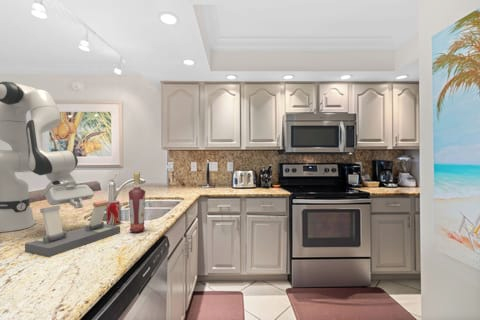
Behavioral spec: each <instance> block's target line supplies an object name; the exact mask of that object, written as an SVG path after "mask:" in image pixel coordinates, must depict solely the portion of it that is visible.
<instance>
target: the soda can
mask: <svg viewBox="0 0 480 320" xmlns="http://www.w3.org/2000/svg"><path fill="white" fill-rule="evenodd" d="M108 202H109V203H108V205H106V209H105V219H106V220H105V221H106V225H114V226H118V225H119V224H120V223H121V221H122V206H121V205H122V204H121V202H120V200H109V201H108Z"/></svg>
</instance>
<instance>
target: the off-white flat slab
mask: <svg viewBox="0 0 480 320" xmlns="http://www.w3.org/2000/svg"><path fill="white" fill-rule="evenodd" d="M108 203H109V202H108V201H107V200H106V199H105V200H100V201H93V203H92V207H93V210H92V212H91V216H90V220H89V224H88V225H90V230H91V229H95V228H98V227H101V226H102V222H103V220H104V216H105V214H106V205H108Z"/></svg>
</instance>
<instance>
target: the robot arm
mask: <svg viewBox="0 0 480 320" xmlns="http://www.w3.org/2000/svg"><path fill="white" fill-rule="evenodd" d="M28 112H30V113H29V114H30V116H31V117H30V118H31V119H30V120H28V121H27V114H28ZM61 121H62V116H61V112H60V111H59V108H58V106H57V104H56V101H55V100H54V98H53V96H52V94H51V93H50V92H49V91H47V90H44V89H39V88H37V87H36V88H35V87H33V86H30V85H26V84H25V85H24V84H20V83H15V82H12V81H0V141H2V142H4V143H6V144H8V145H9V146H10V148H11V149H7V150H5V149H0V233H5V232H7V233H8V232H15V231H20V230H25V229H28V228H32V227H33V226H34V225H36V224H37V221H34V213H33V209H32V208H31V207H30V206H31V205H30V203H31V201H30V198H29V184H28V183H27V181H25V180H23V179H21V178H18V177H17V176H16V173H22V172H23V173H24V172H25V173H26V172H29V173H30V172H32V173H33V174H36V175H38V176H44V175H45V176H46V178H47V180H49V181H50V182H49V183H48V184H47V185H46V187H45V188H44V189H43V194H44V195H45V198H46V201H47V203H48V204H49V205H50V206H59V205H62V204H63V205H64V204H69V205H71V206H72V207H74V209H75V210H77V209H81V208H83V207H84V205H83V203H82V202H83V201H86V200H92V199H93V197H94V196H95V192H94V191H93V189H92V188H90V186H89V185H88V184H85V183H77V182H76V180H75V178H74V176H72V175H71V173H72V172H73V171H74V170H75V168H76V167H77V166H78V163H79V161H78V157H77V155H76V154H75V153H74V152H73V151H72V150H56V151H44V150H43V147H42V139H41V134H43V133H45V132H49V131H51V130H53V129H55V128H56V127H58V126H59V125H60V123H61Z"/></svg>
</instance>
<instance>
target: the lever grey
mask: <svg viewBox="0 0 480 320" xmlns="http://www.w3.org/2000/svg"><path fill="white" fill-rule="evenodd" d="M60 205H61V204H58V205H52V206H49V207H43V208H40V209H39V210H40V211H39V212H40V214H42V219H43V223H44V229H45V230H44V231H45V234H46V236H47V237H49V241H53V240H56V239H60V238H63V237H64V233H63V231H64V230H63V226H62V221H61V220H62V219H61V216H60V210H61V206H60Z"/></svg>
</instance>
